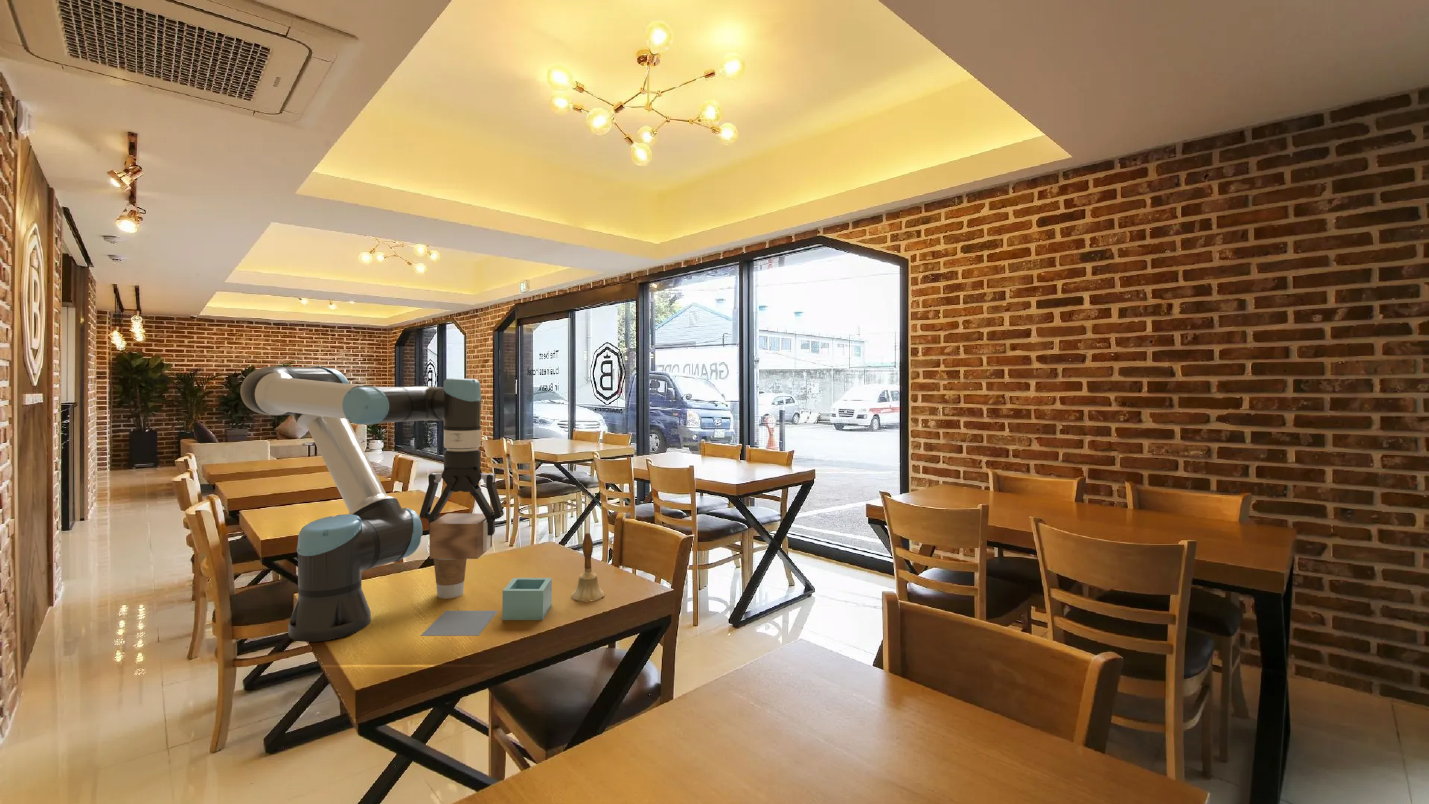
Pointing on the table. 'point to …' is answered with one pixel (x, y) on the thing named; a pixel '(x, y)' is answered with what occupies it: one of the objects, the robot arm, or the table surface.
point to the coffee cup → (450, 577)
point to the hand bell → (587, 576)
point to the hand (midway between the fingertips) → (462, 549)
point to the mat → (460, 623)
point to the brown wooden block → (457, 536)
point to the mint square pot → (527, 599)
